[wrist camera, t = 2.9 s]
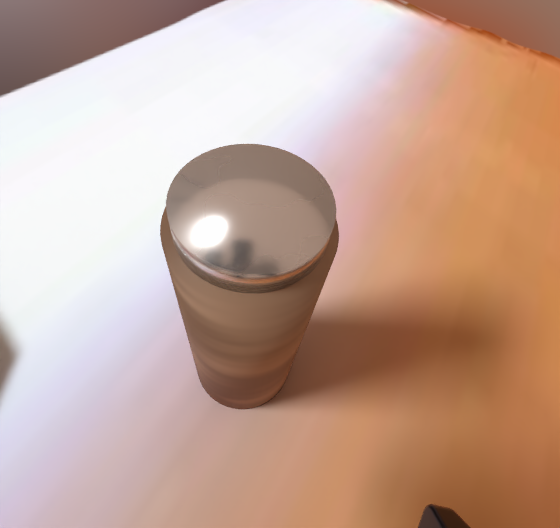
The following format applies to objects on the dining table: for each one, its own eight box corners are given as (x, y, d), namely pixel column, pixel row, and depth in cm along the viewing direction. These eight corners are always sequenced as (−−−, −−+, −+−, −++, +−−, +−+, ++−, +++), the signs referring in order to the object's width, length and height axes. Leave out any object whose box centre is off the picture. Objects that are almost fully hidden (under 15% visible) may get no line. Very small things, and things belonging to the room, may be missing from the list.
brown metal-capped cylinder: (307, 365, 21) (385, 213, 10) (237, 430, 19) (240, 326, 8) (249, 303, 23) (262, 115, 12) (178, 356, 21) (114, 187, 10)
